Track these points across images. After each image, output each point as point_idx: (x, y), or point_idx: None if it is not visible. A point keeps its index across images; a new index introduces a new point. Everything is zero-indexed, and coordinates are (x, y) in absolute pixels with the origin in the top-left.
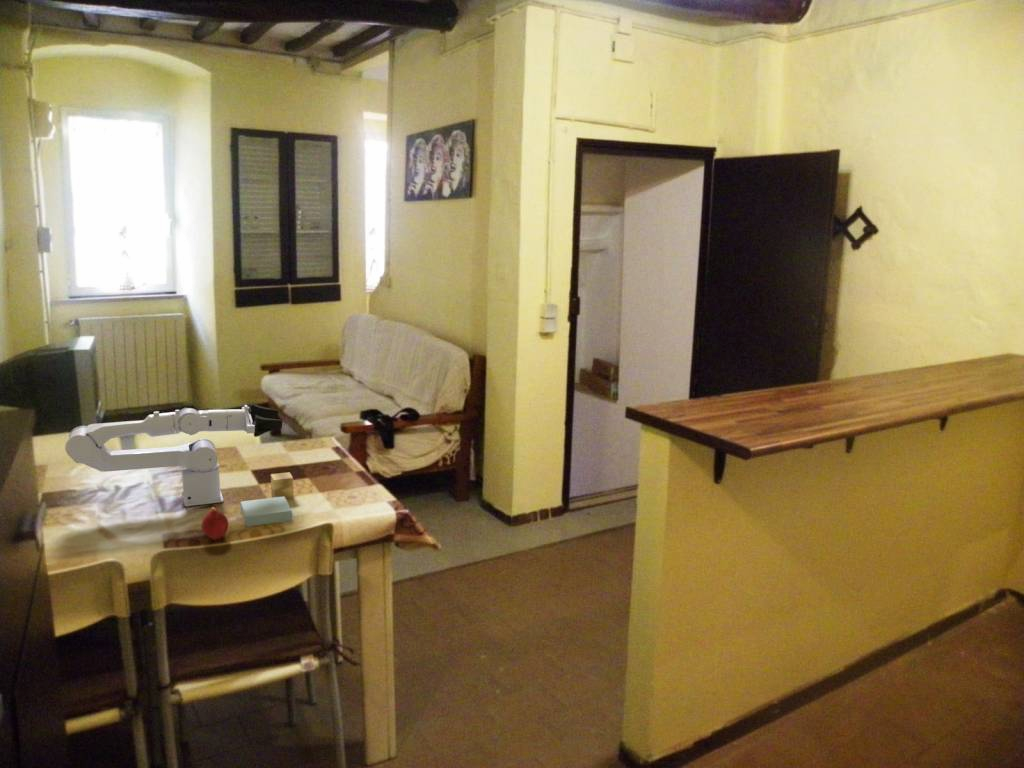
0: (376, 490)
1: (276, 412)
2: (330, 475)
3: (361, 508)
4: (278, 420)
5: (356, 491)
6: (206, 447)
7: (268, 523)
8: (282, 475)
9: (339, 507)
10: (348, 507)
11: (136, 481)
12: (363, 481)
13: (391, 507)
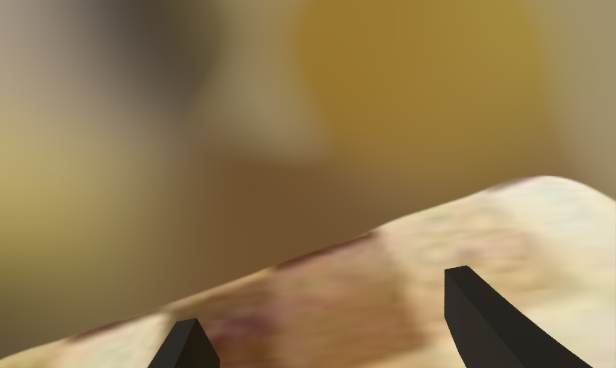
0: (413, 219)
1: (199, 341)
2: (281, 328)
3: (558, 229)
4: (488, 286)
5: (421, 254)
6: None
7: None
8: None
9: (569, 278)
10: (560, 257)
11: None
12: (346, 249)
13: (530, 181)
